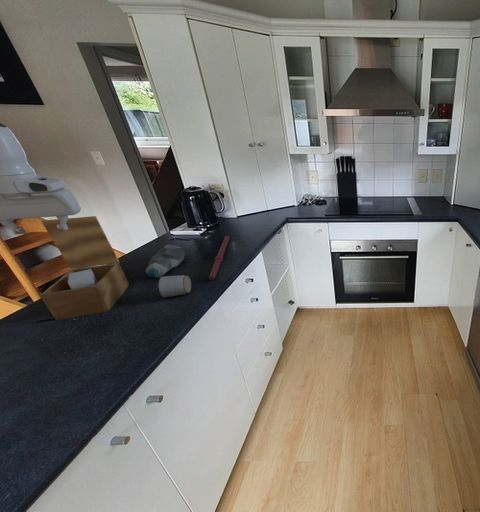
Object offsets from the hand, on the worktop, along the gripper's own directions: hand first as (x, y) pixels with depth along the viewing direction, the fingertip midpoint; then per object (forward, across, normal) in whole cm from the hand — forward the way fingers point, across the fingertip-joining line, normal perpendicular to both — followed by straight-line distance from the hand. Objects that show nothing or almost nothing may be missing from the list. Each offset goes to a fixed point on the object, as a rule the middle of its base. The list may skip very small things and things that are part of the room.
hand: (42, 231), depth 80 cm
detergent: (+29, +17, +25) cm, 42 cm away
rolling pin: (+28, +38, +28) cm, 55 cm away
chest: (+29, 0, +6) cm, 29 cm away
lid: (+9, 0, +13) cm, 16 cm away
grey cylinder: (+29, +26, +2) cm, 39 cm away
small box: (+28, 0, +4) cm, 28 cm away
